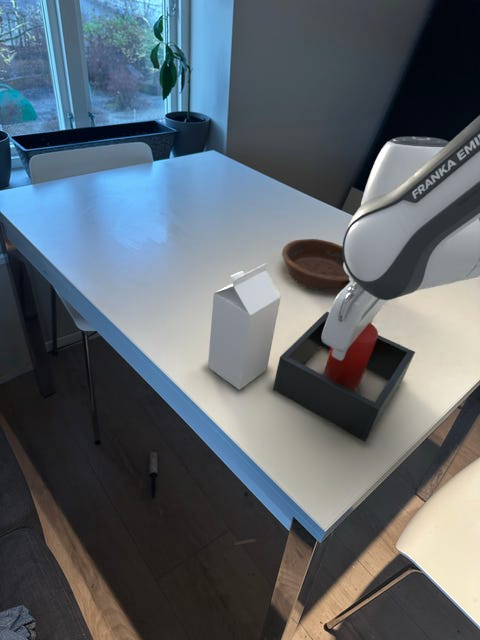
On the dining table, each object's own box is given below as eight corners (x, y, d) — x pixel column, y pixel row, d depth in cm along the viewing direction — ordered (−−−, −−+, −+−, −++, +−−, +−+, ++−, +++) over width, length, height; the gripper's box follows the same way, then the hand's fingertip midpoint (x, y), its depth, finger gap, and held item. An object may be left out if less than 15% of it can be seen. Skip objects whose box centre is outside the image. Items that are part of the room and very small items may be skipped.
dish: (330, 313, 90) (336, 292, 87) (257, 264, 103) (259, 245, 100) (380, 287, 100) (386, 268, 97) (307, 246, 112) (311, 228, 109)
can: (362, 384, 74) (384, 328, 67) (348, 405, 70) (369, 347, 63) (330, 368, 77) (347, 312, 70) (314, 387, 73) (331, 329, 66)
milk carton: (267, 370, 75) (285, 273, 64) (239, 391, 70) (253, 291, 59) (235, 349, 78) (248, 253, 67) (207, 368, 74) (215, 269, 62)
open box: (401, 382, 76) (415, 351, 72) (365, 442, 65) (379, 409, 61) (318, 341, 82) (326, 311, 78) (272, 389, 71) (279, 356, 67)
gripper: (372, 304, 51) (342, 388, 60) (424, 245, 65) (393, 319, 74) (323, 283, 54) (301, 366, 62) (383, 230, 68) (358, 304, 76)
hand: (351, 340), depth 68 cm, fingers open, 8 cm apart
